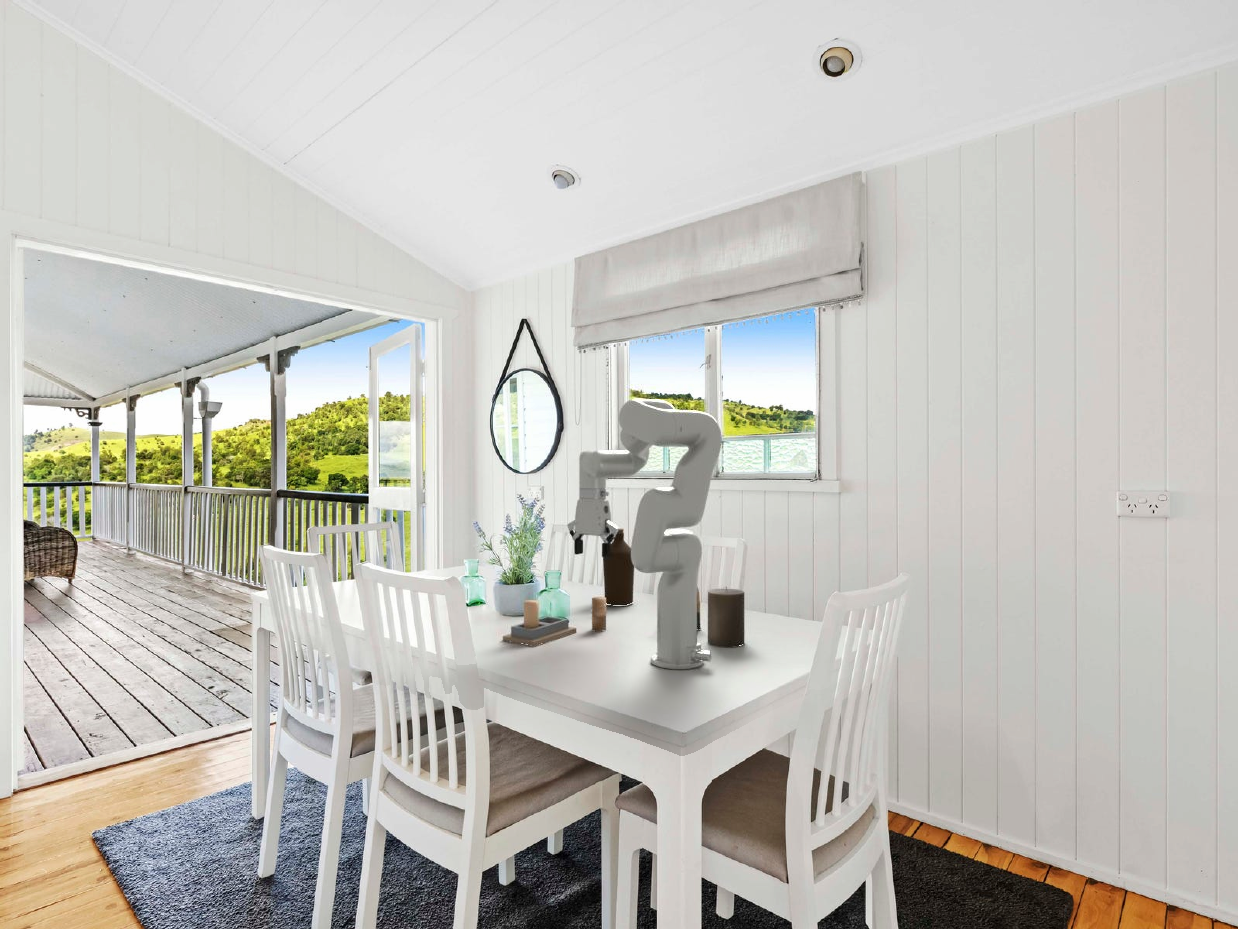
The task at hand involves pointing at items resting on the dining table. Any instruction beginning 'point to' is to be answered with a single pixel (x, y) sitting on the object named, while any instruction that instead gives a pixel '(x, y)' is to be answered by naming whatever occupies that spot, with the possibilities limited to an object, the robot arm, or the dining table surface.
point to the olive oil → (619, 572)
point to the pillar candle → (726, 617)
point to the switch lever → (598, 613)
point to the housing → (538, 627)
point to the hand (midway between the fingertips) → (592, 555)
